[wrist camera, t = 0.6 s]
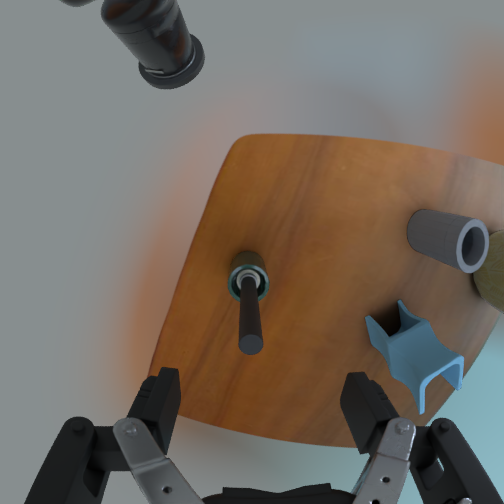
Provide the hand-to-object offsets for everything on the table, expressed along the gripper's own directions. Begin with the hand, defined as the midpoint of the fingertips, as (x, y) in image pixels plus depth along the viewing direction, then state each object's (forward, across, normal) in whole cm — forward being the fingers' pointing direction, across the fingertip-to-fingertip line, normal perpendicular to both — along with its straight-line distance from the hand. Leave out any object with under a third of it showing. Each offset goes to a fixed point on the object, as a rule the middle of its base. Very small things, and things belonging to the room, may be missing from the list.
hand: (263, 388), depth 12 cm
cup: (+33, -31, -5) cm, 45 cm away
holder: (+33, 0, +3) cm, 33 cm away
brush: (+32, 0, +3) cm, 32 cm away
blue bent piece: (+33, -27, +13) cm, 44 cm away
